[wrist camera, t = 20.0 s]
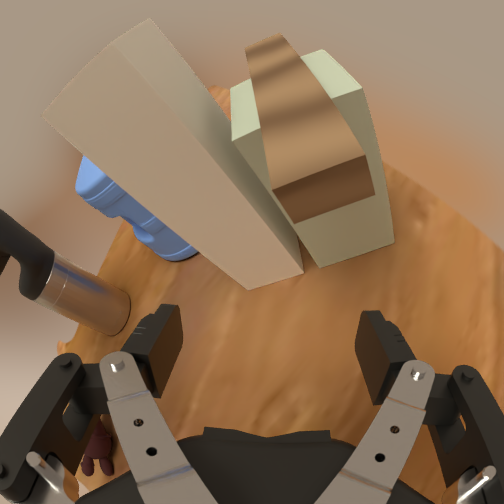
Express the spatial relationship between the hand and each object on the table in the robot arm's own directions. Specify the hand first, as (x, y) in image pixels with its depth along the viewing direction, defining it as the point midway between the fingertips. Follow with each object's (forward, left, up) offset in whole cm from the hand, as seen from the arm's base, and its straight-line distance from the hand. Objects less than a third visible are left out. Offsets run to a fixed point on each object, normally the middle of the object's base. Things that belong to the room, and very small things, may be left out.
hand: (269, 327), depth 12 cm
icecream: (-26, -32, -21) cm, 46 cm away
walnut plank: (-7, +14, +1) cm, 16 cm away
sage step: (-9, +17, -20) cm, 28 cm away
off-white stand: (-17, +10, -20) cm, 28 cm away
